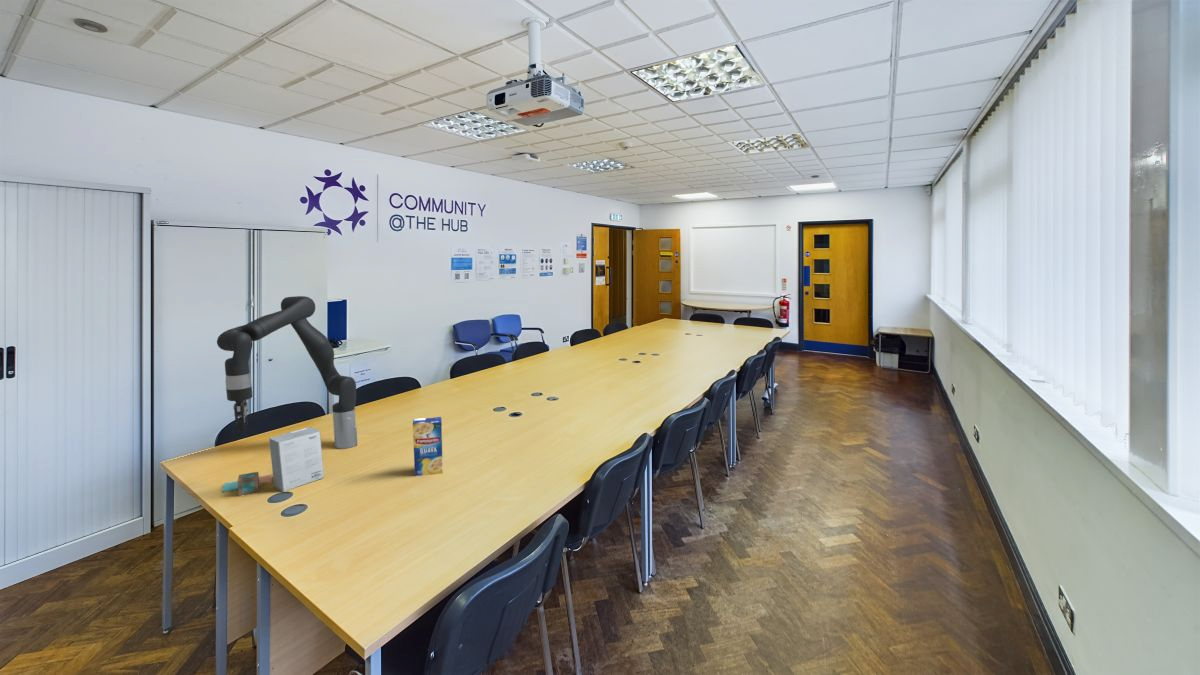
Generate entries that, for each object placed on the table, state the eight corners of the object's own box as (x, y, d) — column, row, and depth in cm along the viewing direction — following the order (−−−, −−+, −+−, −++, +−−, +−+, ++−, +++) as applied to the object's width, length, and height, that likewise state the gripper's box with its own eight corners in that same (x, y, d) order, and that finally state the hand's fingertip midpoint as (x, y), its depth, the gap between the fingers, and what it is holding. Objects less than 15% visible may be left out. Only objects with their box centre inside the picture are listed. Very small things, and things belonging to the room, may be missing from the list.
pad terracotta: (271, 475, 198) (271, 474, 198) (270, 482, 192) (270, 481, 192) (250, 479, 194) (250, 478, 194) (248, 486, 188) (248, 485, 188)
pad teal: (246, 481, 193) (246, 479, 193) (245, 488, 187) (245, 486, 187) (224, 485, 189) (224, 483, 189) (222, 492, 183) (222, 490, 183)
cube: (259, 486, 189) (258, 471, 188) (258, 492, 184) (257, 477, 183) (240, 489, 186) (238, 474, 185) (238, 496, 181) (237, 480, 180)
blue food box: (415, 469, 207) (413, 418, 203) (443, 466, 210) (441, 416, 206) (414, 476, 200) (412, 424, 197) (442, 473, 203) (441, 422, 200)
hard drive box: (315, 473, 201) (311, 426, 198) (324, 478, 197) (321, 430, 194) (272, 487, 188) (268, 437, 185) (282, 492, 184) (277, 441, 181)
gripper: (249, 389, 174) (253, 433, 177) (253, 380, 187) (256, 422, 189) (223, 391, 171) (227, 436, 173) (228, 383, 183) (232, 425, 185)
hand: (242, 429), depth 181 cm, fingers open, 8 cm apart
